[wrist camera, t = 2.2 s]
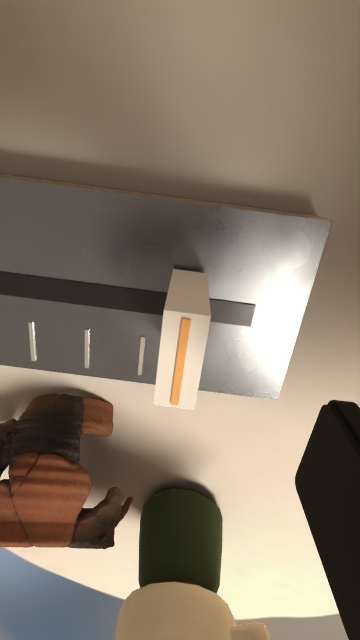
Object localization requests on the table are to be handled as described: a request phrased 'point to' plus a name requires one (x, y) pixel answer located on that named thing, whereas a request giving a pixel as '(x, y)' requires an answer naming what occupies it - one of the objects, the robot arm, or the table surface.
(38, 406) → the pottery mug
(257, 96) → the table surface
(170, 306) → the fader tab
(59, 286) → the console
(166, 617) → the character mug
